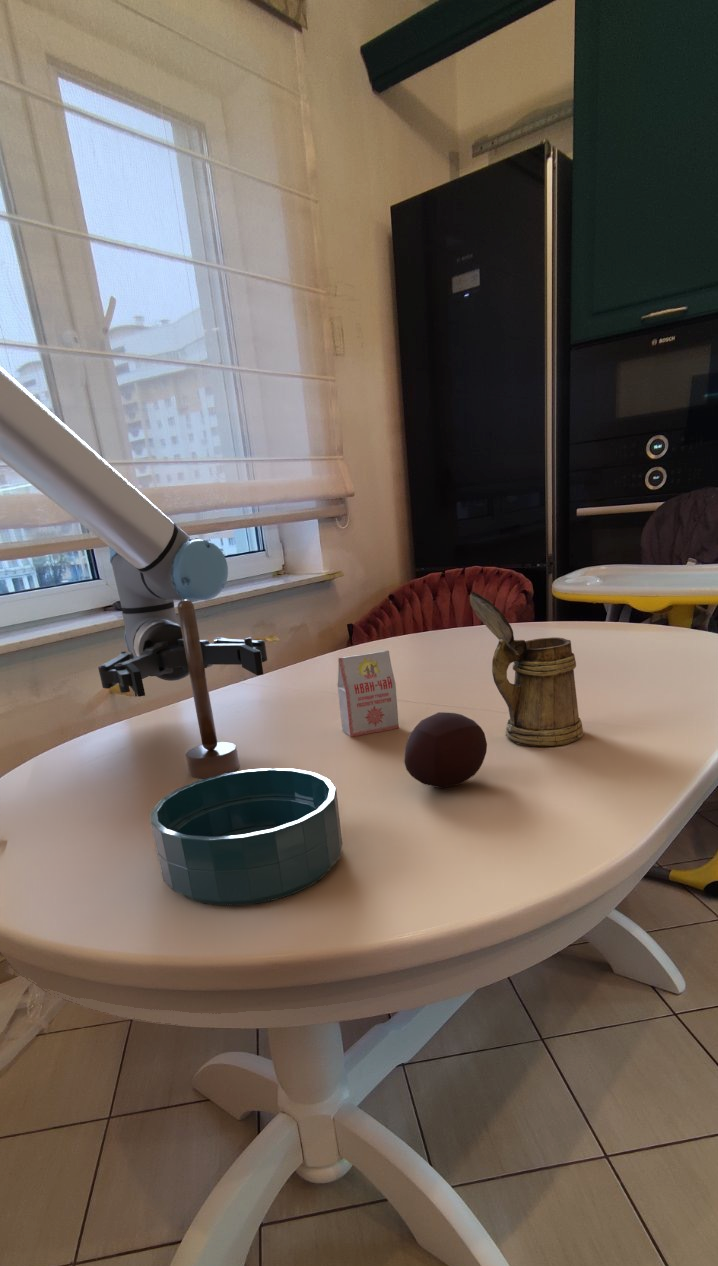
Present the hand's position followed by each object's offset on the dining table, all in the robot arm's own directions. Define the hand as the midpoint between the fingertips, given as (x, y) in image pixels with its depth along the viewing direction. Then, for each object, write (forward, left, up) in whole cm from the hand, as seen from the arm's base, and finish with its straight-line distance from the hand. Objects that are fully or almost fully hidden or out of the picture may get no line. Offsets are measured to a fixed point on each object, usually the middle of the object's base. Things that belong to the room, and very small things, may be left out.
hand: (200, 673), depth 81 cm
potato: (+28, -1, -12) cm, 30 cm away
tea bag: (+13, +18, -12) cm, 25 cm away
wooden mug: (+34, +15, -12) cm, 39 cm away
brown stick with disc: (-1, +1, -12) cm, 12 cm away
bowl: (+16, -21, -12) cm, 29 cm away
